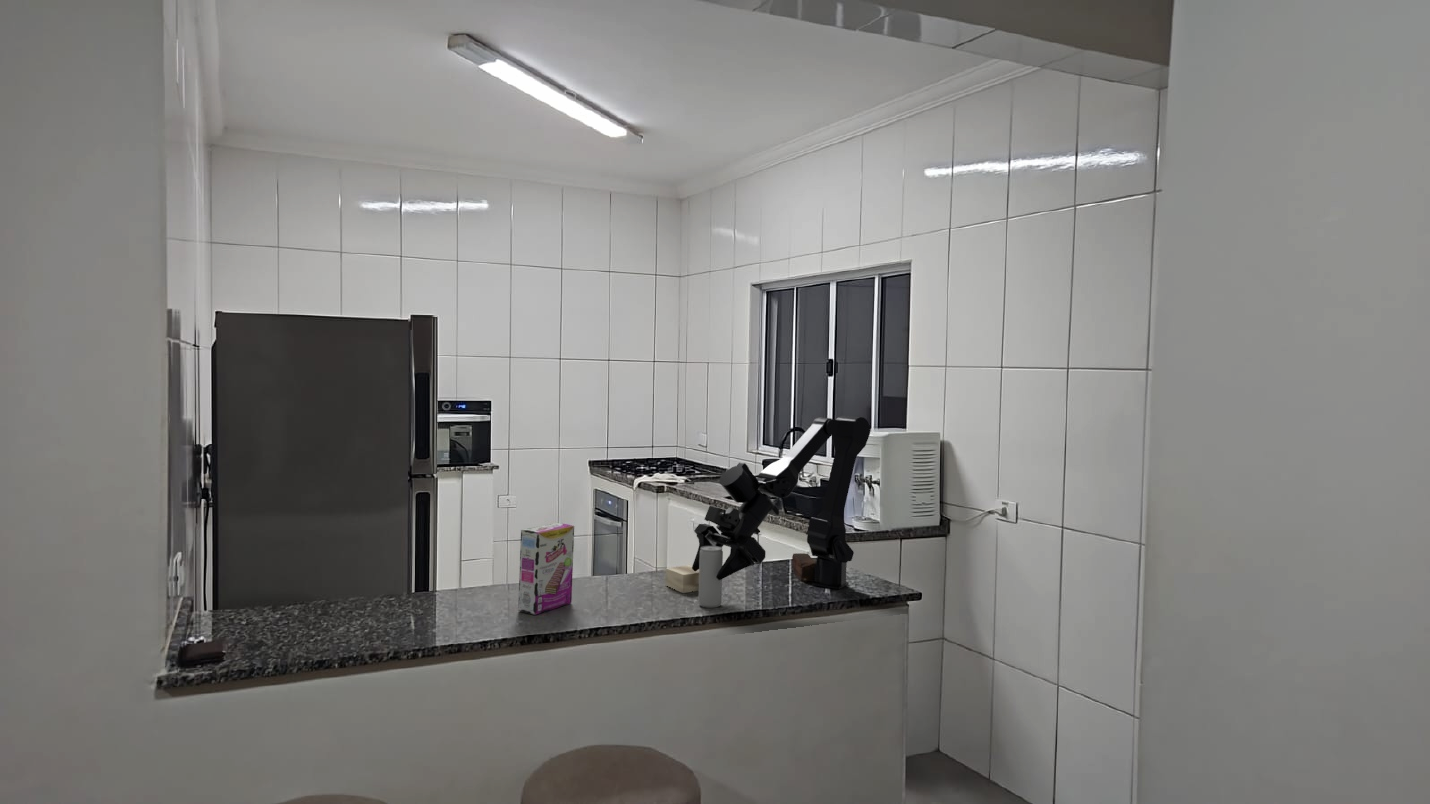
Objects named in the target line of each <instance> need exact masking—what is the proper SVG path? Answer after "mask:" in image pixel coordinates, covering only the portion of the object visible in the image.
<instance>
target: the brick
mask: <svg viewBox="0 0 1430 804" xmlns="http://www.w3.org/2000/svg"><path fill="white" fill-rule="evenodd" d="M791 558H792V561H791V567H792V571H793V573H794V575H795V576H796V577H797V578H798V580H799V581H801V582H803V583H804V582H805V583H806V582H812V583H814V582H816V581H814V564H815V563H816V561H815V559H814V558H812V557H811V555H809V554H808V553H803V552H802V553H798V552H797V553H796V552H795V553H793V554H792V557H791Z"/></svg>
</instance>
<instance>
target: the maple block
mask: <svg viewBox="0 0 1430 804" xmlns="http://www.w3.org/2000/svg"><path fill="white" fill-rule="evenodd" d="M692 566H693V564H688V565H681V566H675V567H673V566H672V567H667V568H665V587H667V586H669V587H671V588H670V589H672V588H673V589H672V590H674V589H675V590H674V591H676V592H680V593H682V594H685V593H691V592H692V591H693V592H699V569H698V570H697V571H694V570H693V569H692ZM669 587H668V588H669Z"/></svg>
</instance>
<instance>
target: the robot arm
mask: <svg viewBox="0 0 1430 804" xmlns="http://www.w3.org/2000/svg"><path fill="white" fill-rule="evenodd" d="M810 425H811V426H810V427H808V429H806V431H805V432H803V434H802V436H800V438H799V439H798V440H797V441H796V442H795V444H794V445H793V446H792V447H791V448H790V449H789V450H788V451H787V452H786V453H785V454H784V456H782V457H781V458H780V459H779V460H776V461H774V462H772V463H770V464H769V465H767V466H766V467H765V468H764V469H763V470H761V471H760V472H759V474H756V475H754V473H752V471H751V470H750V467H749V466H748V465H747V464H746V463H745V462H741V461H739V462H738V463H737V465H735V466H731V467H730V468H729V469H727V470H726V471H725V470H724V472H723V473H722V474H721V476H720V478H719V484H720V486H721V487H722V488H723V489H724V491H726V492H727V494H728V495H729V496H730V497H731V498H732V500H733V501H734V502H735V503H738V504H741V503H742V504H741V505H740V507H738V509H737V508H734V507H731V506H730V507H728V508H726V509H724V508H721V507H718V506H713V505H709V507H708V509H707V511H706V513H705V517H704V518H703V519H704V521H706V522H711V523H712V524H715V525H716V527H715V526H714V525H711V524H708V523H699V524H698V525H697V526H696V527H695V529H694V530H693V531H694V533H695V535H696V538H697V540H698V544H699V545H698V548H697V552H696V555H695V557H694V560H693V563H692V565H693V566H692V569H693V570H694V571H697V570H698V569H699V560H700V550H701V549H700V548H701V547H703V546H718V547H721V548H722V549H723V547H724V546H725V547H729V548H730V552H729V555H728V557H727V558H726V560H725V561H724V563H723V565H722V567H721V569H720V570H719V572H718V574H717V576H716V578H717V579H718V580H721V579H722V580H723V579H725V578H728V577H730V576H731V575H733V574H736V573H737V572H739V571H741V570H744V569H746V568H748V567H751V566H754V565H755V564H758V565H761V564H762V562H764V560H765V559H766V550H765V549H764V547H763V546H762V545H761V543H759V542H758V540H757V539H756V538H755V537H754V536H753V535H757V536H758V535H759V534H760V533H761V530H760V529H759V527H760V526H761V524H762V523H763V522H764V521H765V519H766V518H767V516H768V515H769V514H770V515H774V516H779V515H780V510H779V502H777V501H774V500H772V499H771V498H770V497H774V498H778V499H785V498H788V497H789V496H790V495H791V493H793V490H794V489H795V487H796V485H798V482H799V477H800V473H801V471H802V470H803V469H804V468H805V466H806V465H807V464H808V463H810V461H811V460H812V459H813V457H814V456H815V455H816V454H817V453H818V451H820V449H821V448H822V447H823V446H824V444H826V443H827V441H828V440H829V439H830V438H831V440H832V444H833V447H834V448H833V449H834V457H833V460H832V465H831V469H830V473H829V477H828V481H827V485H826V489H825V494H824V498H823V503H822V508H821V511H820V513H819V514H817V516H816V517H812V516H811V517H810V518H809V521H808V528H807V531H806V532H805V535H806V536H807V538H806V542H807V544H808V546H809V548H810V553H811V556H813V557H816V561H815V562H816V563H815V564H814V581H815V582H812V586H817V587H821V588H829V589H835V590H840V589H842V588H844V587H846V586H848V585H849V581H847V563H849V562H851V561H852V559H853V558H854V557H853V556H854V554H855V553H854V550H853V549H852V547H851V546H850V545H849V544H848V542H846V535H847V528H846V525H845V522H844V518H843V517H844V512H845V508H846V503H847V499H848V495H849V490H850V486H851V480H852V477H853V473H854V469H855V463H856V460H857V458H858V455H859V454H860V453H861V452H862V451H863V449H864V448H865V447H866V445H867V443H868V440H869V437H870V434H871V425H870V423H869V421H868V420H867V418H865V417H864V416H863V417H862V416H852V415H840V416H839V417H837V418H834V419H833V418H830V417H822V416H821V417H820V416H819V417H817V418H815V419H813V421H812V423H811V424H810Z"/></svg>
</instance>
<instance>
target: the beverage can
mask: <svg viewBox="0 0 1430 804" xmlns="http://www.w3.org/2000/svg"><path fill="white" fill-rule="evenodd" d="M700 549H701V550H700V560H699V591H698V604H699V606H700V607H703V608H707V609H715V608H718V607H720V606H721V605H722V599H723V597H722V595H723V593H722V591H723V589H722V588H723V579H721V580H718V579H717V578H716V576H717V574H718V572H719V570H720V569H721V567H722V566H723V564H724V563H723V562H724V560H723V559H724V556H723V555H724V551H723V547H722V548H721V547H718V546H703V547H701V548H700Z"/></svg>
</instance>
